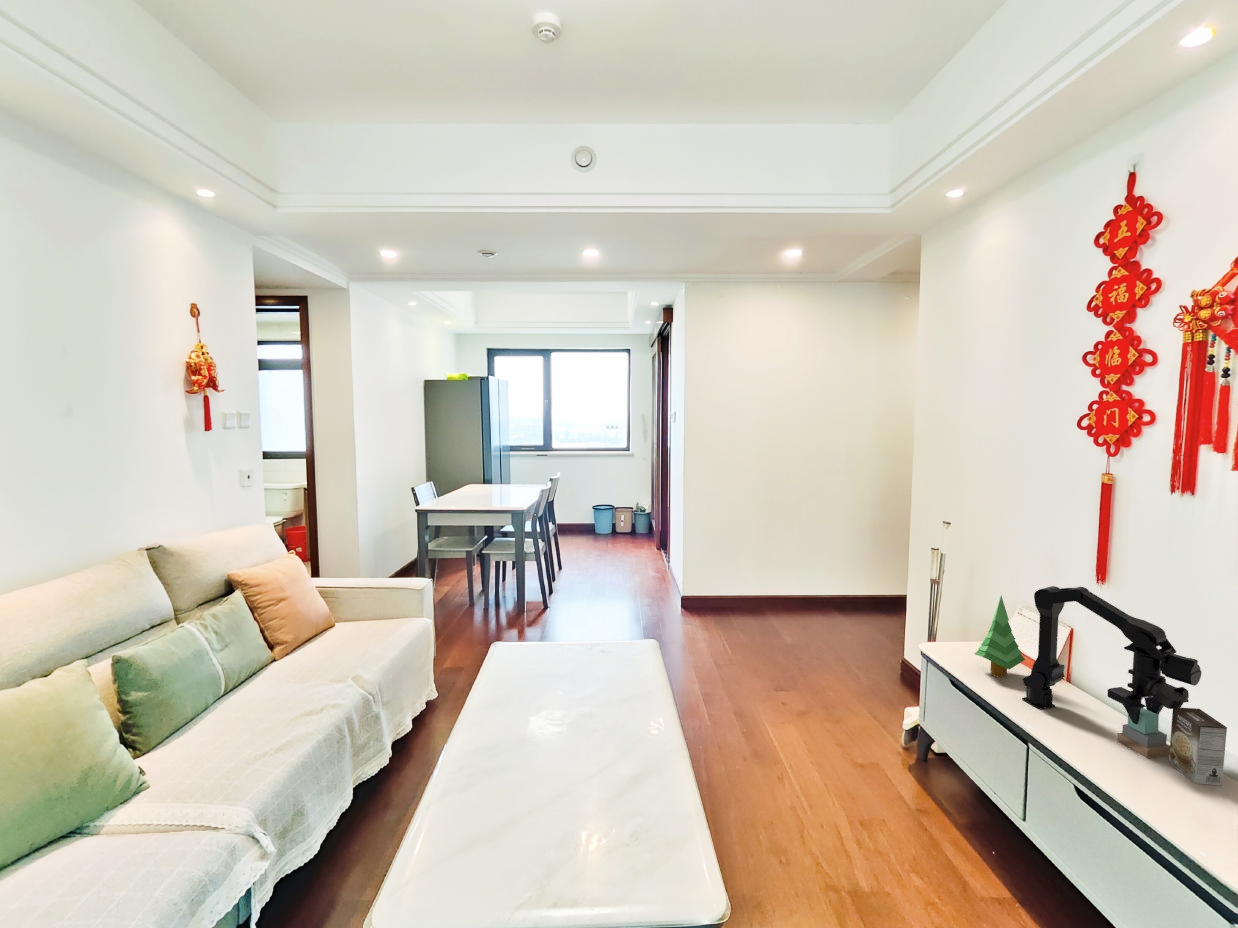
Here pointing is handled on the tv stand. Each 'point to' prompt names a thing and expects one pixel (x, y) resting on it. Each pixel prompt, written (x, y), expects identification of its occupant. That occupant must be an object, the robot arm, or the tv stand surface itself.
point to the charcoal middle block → (1145, 737)
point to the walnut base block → (1143, 747)
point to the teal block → (1146, 722)
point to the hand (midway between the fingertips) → (1143, 722)
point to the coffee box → (1197, 745)
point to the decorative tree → (1000, 644)
